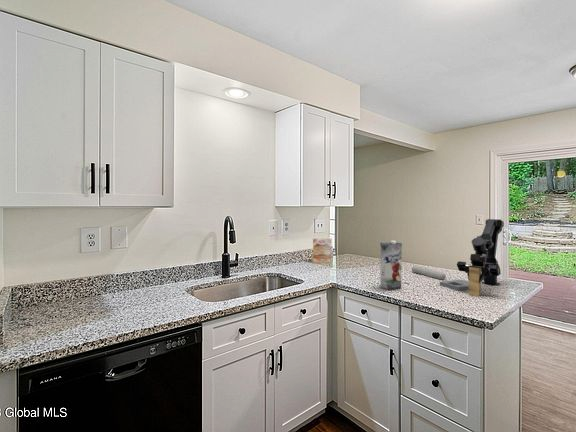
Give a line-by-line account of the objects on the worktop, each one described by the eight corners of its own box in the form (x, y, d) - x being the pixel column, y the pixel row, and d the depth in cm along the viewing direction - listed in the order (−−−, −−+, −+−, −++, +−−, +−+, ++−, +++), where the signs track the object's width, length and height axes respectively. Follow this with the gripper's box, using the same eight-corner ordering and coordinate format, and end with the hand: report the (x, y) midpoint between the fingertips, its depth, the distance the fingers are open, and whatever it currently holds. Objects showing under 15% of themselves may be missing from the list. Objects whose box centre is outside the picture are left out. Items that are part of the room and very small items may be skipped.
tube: (448, 273, 191) (418, 266, 215) (442, 271, 190) (412, 264, 213) (446, 282, 191) (416, 273, 214) (440, 280, 189) (410, 271, 213)
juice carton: (378, 287, 175) (378, 240, 174) (392, 285, 179) (392, 239, 179) (388, 291, 167) (389, 241, 166) (403, 288, 171) (404, 240, 170)
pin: (471, 292, 162) (471, 266, 162) (480, 294, 159) (481, 267, 159) (468, 294, 159) (469, 267, 159) (478, 296, 156) (478, 269, 156)
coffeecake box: (313, 262, 252) (312, 239, 251) (313, 261, 259) (313, 238, 258) (331, 263, 249) (331, 239, 249) (331, 261, 256) (331, 238, 256)
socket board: (461, 282, 183) (461, 279, 183) (480, 288, 171) (480, 284, 171) (439, 285, 179) (439, 281, 179) (458, 290, 166) (458, 287, 166)
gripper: (458, 246, 168) (450, 269, 161) (498, 249, 155) (492, 275, 147) (462, 259, 174) (455, 281, 166) (501, 263, 160) (496, 288, 153)
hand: (474, 281), depth 158 cm, fingers closed on pin, 4 cm apart
